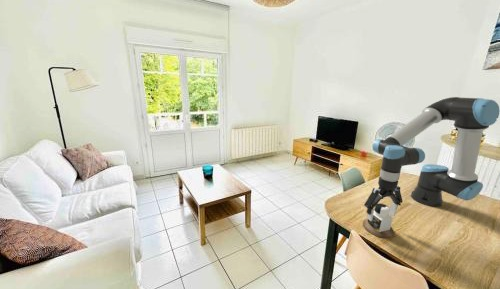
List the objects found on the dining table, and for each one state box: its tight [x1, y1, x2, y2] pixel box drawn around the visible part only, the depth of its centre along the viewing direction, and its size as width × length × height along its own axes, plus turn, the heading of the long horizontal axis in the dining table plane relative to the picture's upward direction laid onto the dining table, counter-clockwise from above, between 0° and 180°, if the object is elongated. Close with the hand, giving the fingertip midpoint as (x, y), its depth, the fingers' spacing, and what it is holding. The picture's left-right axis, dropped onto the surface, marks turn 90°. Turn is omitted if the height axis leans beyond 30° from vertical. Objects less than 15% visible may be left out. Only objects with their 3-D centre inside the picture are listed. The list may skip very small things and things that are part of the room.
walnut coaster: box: [362, 218, 394, 239], centre depth 104 cm, size 13×13×1 cm
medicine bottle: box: [367, 202, 393, 232], centre depth 102 cm, size 7×7×12 cm
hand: (380, 217), depth 102 cm, fingers open, 13 cm apart
